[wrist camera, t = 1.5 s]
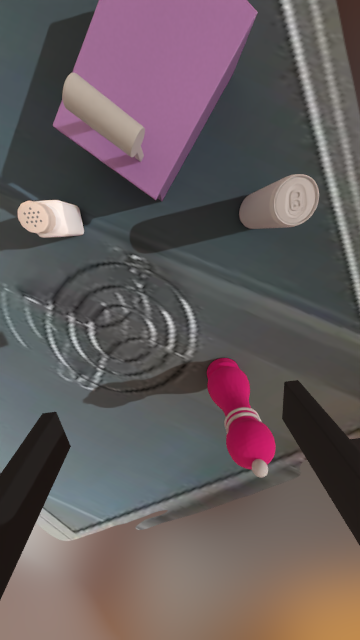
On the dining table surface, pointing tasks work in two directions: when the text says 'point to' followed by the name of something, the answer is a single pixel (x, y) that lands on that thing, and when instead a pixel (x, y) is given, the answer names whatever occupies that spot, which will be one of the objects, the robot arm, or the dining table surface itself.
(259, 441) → the pepper mill
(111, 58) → the lid
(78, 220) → the salt shaker
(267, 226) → the beverage can
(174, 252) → the dining table surface
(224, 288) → the dining table surface
